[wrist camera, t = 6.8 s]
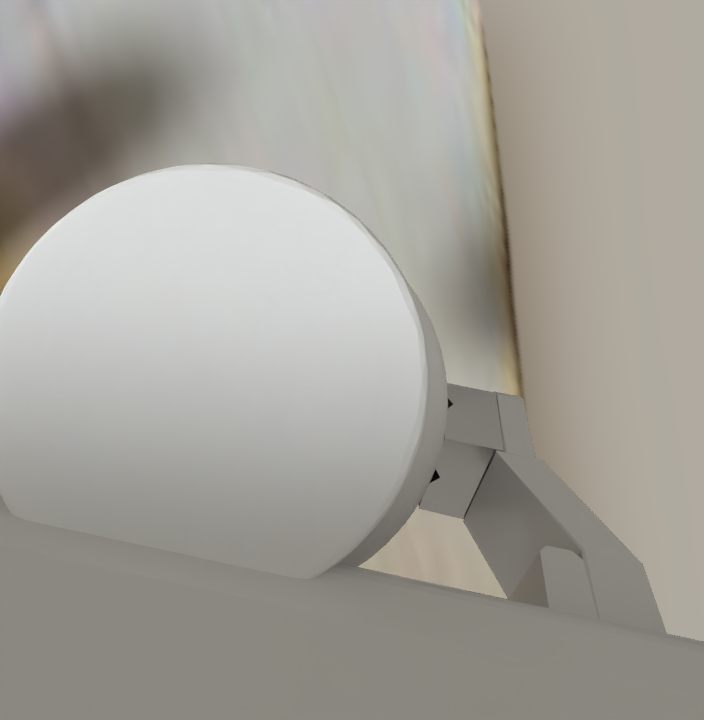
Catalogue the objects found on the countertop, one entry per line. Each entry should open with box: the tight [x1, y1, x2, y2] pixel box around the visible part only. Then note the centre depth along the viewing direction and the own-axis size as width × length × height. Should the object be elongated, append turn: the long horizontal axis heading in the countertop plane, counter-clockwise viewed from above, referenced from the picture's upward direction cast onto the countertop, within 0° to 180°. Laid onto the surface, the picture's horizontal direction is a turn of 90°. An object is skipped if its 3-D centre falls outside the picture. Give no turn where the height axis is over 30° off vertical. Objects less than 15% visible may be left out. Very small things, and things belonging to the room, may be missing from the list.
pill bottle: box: [0, 163, 448, 579], centre depth 11 cm, size 6×6×11 cm
